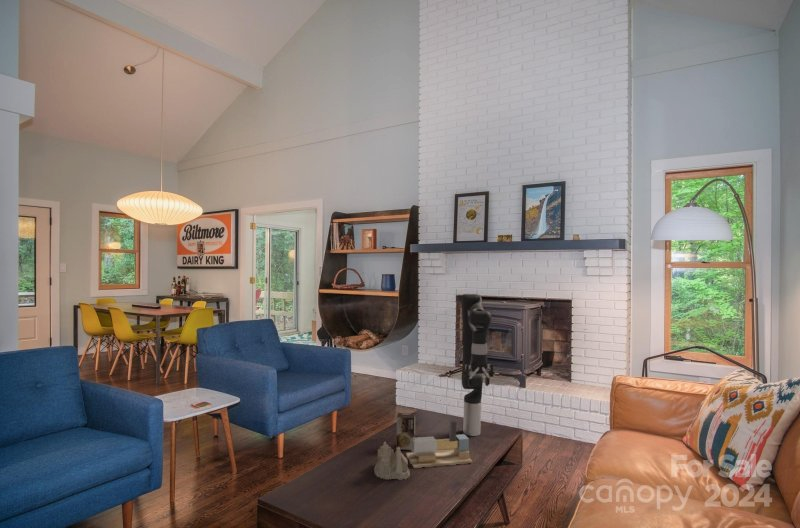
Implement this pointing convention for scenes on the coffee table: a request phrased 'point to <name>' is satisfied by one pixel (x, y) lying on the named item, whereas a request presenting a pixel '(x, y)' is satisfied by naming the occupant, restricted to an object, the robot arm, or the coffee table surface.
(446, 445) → the multicoloured piece
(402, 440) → the coffee box
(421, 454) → the grey and tan block
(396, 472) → the ceramic cottage
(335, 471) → the coffee table surface
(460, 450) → the slate-blue socket
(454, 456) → the birch board
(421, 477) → the coffee table surface
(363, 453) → the coffee table surface
